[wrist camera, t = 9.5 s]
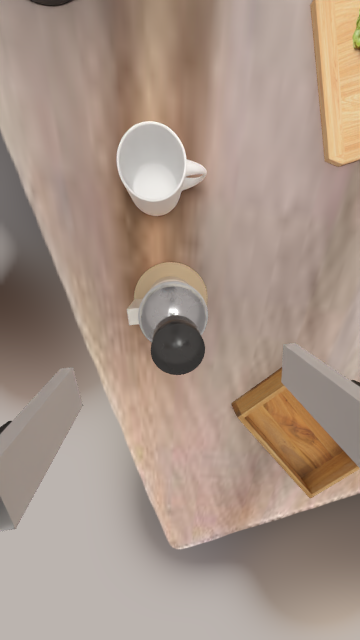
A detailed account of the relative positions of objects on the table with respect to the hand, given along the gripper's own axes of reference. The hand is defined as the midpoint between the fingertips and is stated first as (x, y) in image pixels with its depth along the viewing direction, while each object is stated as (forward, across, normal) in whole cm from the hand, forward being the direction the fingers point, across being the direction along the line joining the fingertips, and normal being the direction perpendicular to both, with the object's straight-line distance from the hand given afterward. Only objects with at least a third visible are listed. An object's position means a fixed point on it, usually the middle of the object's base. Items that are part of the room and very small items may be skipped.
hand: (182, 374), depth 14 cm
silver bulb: (+16, 0, -1) cm, 16 cm away
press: (+30, 0, -1) cm, 30 cm away
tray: (+30, +26, -35) cm, 53 cm away
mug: (+30, +1, +18) cm, 35 cm away
